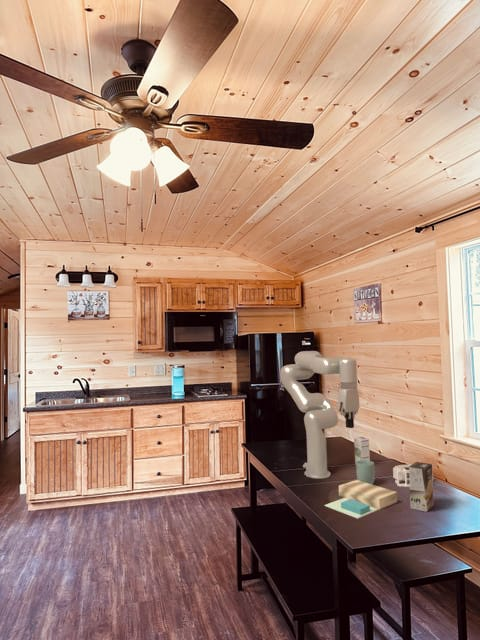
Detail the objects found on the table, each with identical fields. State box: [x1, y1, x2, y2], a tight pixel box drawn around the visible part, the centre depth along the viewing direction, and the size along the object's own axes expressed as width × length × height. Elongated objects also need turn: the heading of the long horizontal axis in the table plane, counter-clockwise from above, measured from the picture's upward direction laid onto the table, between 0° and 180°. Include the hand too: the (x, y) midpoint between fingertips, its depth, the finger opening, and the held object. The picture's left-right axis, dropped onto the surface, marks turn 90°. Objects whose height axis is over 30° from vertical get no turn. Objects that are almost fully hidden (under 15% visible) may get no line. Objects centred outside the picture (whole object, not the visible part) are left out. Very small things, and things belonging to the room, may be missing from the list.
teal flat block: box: [341, 499, 371, 515], centre depth 164 cm, size 9×6×2 cm, turn 38°
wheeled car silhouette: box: [392, 463, 434, 488], centre depth 195 cm, size 20×11×7 cm, turn 99°
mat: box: [324, 497, 379, 519], centre depth 166 cm, size 16×12×1 cm
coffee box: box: [408, 461, 435, 513], centre depth 166 cm, size 9×6×16 cm
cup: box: [355, 460, 376, 485], centre depth 193 cm, size 8×8×10 cm
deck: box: [338, 479, 398, 511], centre depth 176 cm, size 20×12×4 cm, turn 37°
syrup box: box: [353, 436, 371, 466], centre depth 222 cm, size 6×6×14 cm
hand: (349, 427), depth 188 cm, fingers closed
